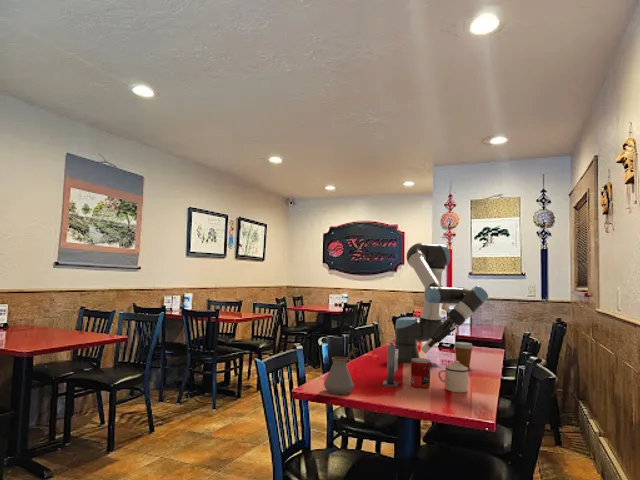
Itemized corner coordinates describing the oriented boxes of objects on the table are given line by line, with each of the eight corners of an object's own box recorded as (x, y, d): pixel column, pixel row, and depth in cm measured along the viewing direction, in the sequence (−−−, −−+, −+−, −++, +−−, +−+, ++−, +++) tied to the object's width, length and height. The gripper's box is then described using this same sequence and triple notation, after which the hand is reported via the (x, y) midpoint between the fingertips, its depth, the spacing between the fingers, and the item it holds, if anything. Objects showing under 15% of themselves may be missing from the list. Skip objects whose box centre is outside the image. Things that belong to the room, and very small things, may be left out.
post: (384, 382, 188) (385, 344, 190) (398, 384, 187) (399, 345, 188) (382, 385, 183) (383, 346, 184) (396, 387, 181) (397, 347, 182)
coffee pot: (345, 397, 162) (347, 356, 163) (318, 392, 167) (320, 352, 169) (367, 386, 181) (369, 349, 182) (342, 382, 186) (343, 345, 187)
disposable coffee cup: (449, 365, 234) (450, 342, 235) (463, 364, 238) (463, 341, 239) (462, 368, 226) (462, 344, 227) (476, 367, 230) (477, 344, 231)
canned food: (425, 389, 179) (426, 362, 179) (407, 386, 183) (408, 359, 184) (433, 386, 185) (433, 359, 186) (415, 383, 189) (415, 357, 190)
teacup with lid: (470, 389, 182) (470, 360, 183) (466, 394, 174) (466, 364, 175) (440, 385, 188) (441, 357, 189) (435, 389, 180) (436, 360, 181)
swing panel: (392, 377, 184) (393, 342, 185) (388, 377, 185) (389, 342, 186) (398, 368, 203) (398, 337, 204) (394, 368, 204) (395, 336, 205)
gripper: (471, 321, 193) (433, 359, 190) (459, 319, 206) (424, 354, 203) (459, 309, 193) (421, 347, 190) (448, 307, 206) (413, 342, 203)
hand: (423, 351), depth 197 cm, fingers closed
